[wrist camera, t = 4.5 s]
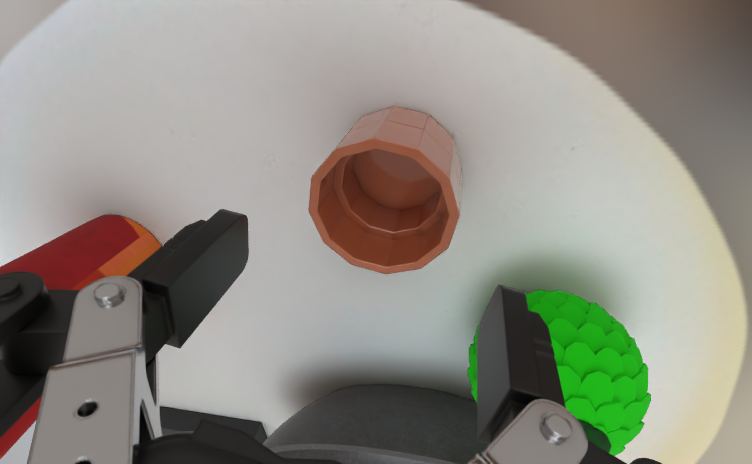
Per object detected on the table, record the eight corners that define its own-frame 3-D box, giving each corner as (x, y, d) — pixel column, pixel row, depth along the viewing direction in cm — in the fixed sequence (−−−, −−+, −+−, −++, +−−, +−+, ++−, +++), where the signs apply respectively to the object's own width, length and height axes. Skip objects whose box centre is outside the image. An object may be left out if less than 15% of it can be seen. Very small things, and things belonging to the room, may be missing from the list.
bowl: (266, 350, 30) (224, 425, 25) (574, 380, 25) (600, 482, 20) (298, 439, 36) (270, 513, 31) (549, 477, 31) (565, 573, 26)
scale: (184, 466, 45) (170, 490, 43) (144, 403, 39) (125, 428, 37) (287, 486, 42) (277, 513, 40) (261, 422, 36) (248, 450, 34)
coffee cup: (58, 237, 28) (-270, 437, 16) (102, 175, 24) (-291, 378, 12) (152, 311, 30) (-66, 535, 18) (207, 266, 26) (-26, 515, 14)
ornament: (637, 340, 22) (734, 548, 14) (504, 372, 26) (520, 553, 18) (584, 235, 20) (667, 418, 11) (444, 288, 23) (429, 455, 15)
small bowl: (336, 201, 21) (304, 252, 17) (351, 92, 18) (316, 123, 14) (441, 228, 21) (434, 287, 17) (476, 122, 18) (478, 163, 14)
